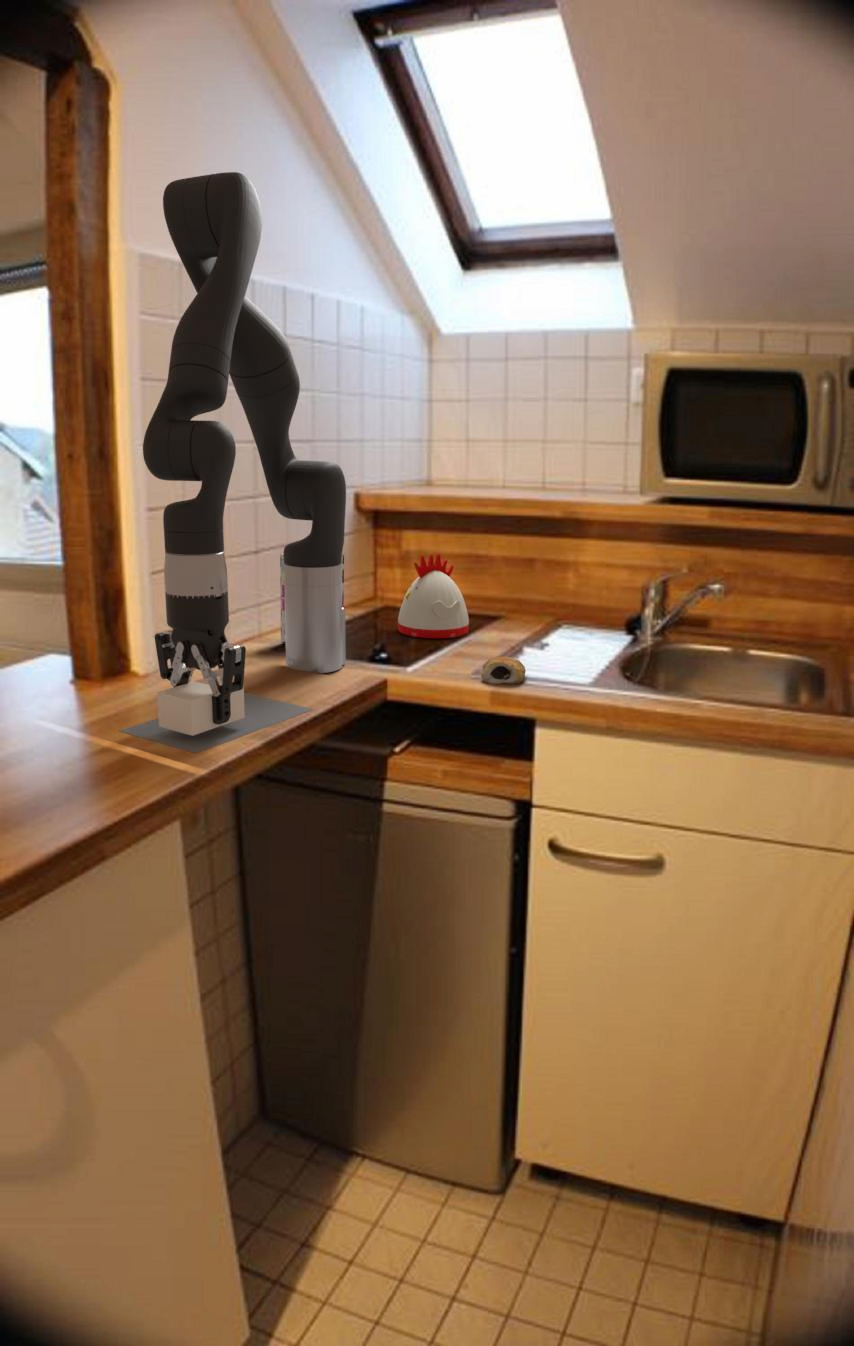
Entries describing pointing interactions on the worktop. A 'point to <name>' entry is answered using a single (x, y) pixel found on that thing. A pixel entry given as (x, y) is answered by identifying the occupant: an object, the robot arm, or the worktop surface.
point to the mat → (256, 717)
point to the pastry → (503, 670)
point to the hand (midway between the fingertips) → (202, 717)
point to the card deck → (194, 707)
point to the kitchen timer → (433, 603)
